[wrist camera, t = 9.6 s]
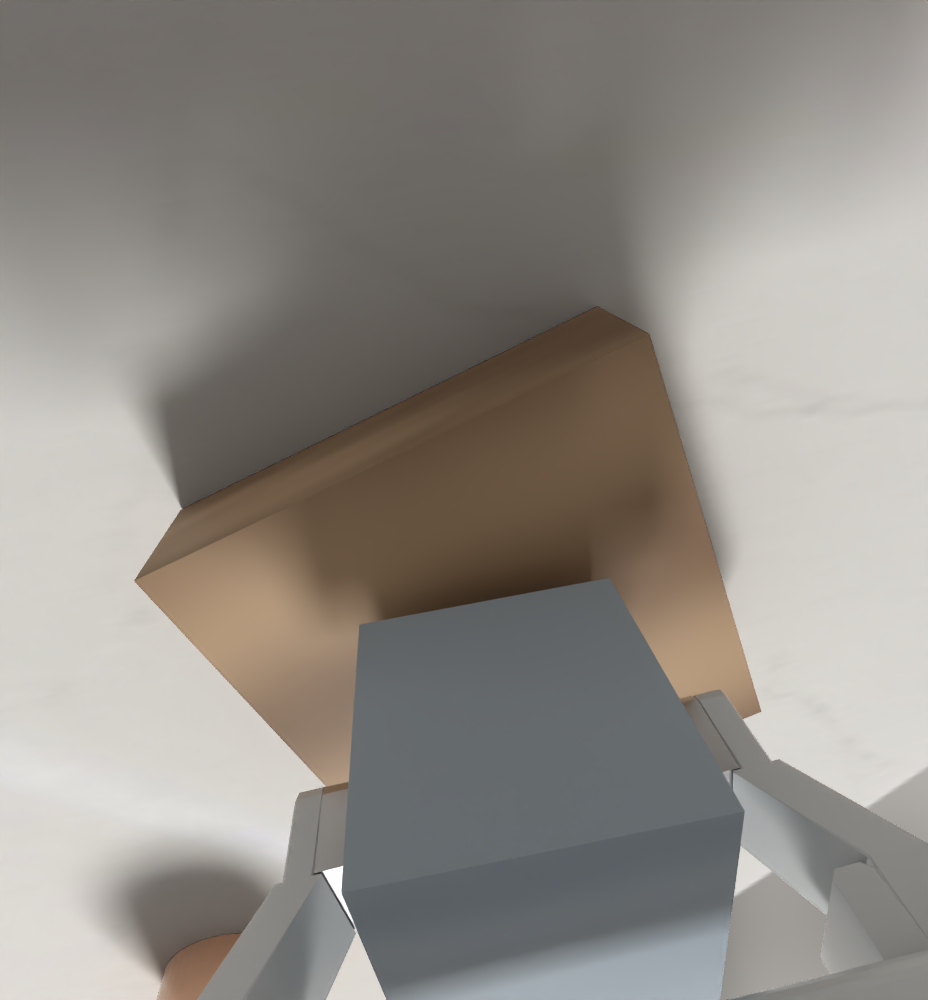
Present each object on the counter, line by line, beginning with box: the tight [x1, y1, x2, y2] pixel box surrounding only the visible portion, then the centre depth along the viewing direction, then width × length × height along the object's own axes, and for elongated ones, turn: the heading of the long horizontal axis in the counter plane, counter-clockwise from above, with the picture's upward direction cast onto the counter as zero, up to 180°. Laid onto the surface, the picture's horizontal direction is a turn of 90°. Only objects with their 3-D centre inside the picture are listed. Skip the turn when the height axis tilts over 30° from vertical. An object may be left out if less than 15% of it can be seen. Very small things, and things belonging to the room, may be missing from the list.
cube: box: [341, 578, 745, 1000], centre depth 11 cm, size 5×5×5 cm
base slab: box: [134, 306, 761, 787], centre depth 15 cm, size 11×11×3 cm
